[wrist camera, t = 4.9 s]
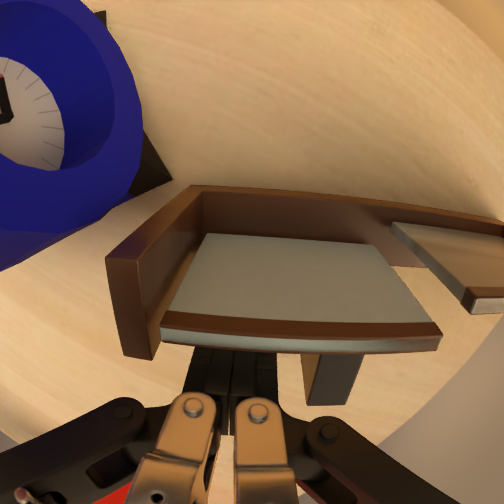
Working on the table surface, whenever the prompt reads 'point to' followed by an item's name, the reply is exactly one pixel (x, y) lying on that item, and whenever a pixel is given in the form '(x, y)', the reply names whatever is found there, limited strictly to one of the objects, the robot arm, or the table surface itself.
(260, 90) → the table surface
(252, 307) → the panel
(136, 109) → the alarm clock
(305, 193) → the window frame
